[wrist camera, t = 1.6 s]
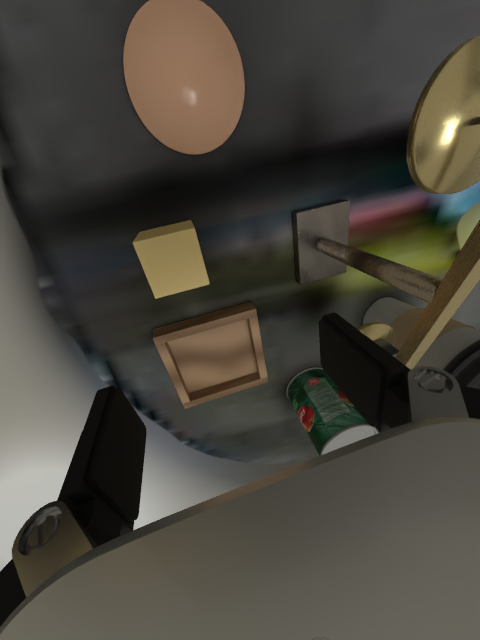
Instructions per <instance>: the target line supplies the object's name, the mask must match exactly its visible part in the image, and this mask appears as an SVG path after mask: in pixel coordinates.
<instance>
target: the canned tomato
mask: <svg viewBox="0 0 480 640" xmlns="http://www.w3.org/2000/svg"><path fill="white" fill-rule="evenodd" d="M286 395H287V397H288V399H289V400H290V402H291V404H292V406H293V408H294V410H295V411H296V413H297V415H298V417H299V419H300V421H301V423H302V424H303V426H304V428H305V430H306V432H307V434H308V435H309V438H310V439H311V441H312V443H313V444H314V446H315V449H316V450H317V452H318V454H319V455H323V454H326V453H328V452H331V451H333V450H336V449H338V448H341V447H344V446H346V445H349V444H351V443H354V442H356V441H359V440H362V439H364V438H367V437H370V436H373V435H375V434H378V432H377V430H376V429H375V428H374V427H372V426H371V425H369V424H368V422H367V421H366V420H365V419H364V418H363V416H362V415H361V414H360V413H359V412H358V410H357V409H356V408H355V407H354V406H353V404H352V403H351V402H350V401H349V400H348V398H347V397H346V396H345V395H344V394H343V392H342V391H341V390H340V389H339V388H338V387H337V385H336V384H335V383H334V382H333V381H332V379H331V378H330V377H329V376H328V375H327V373H326V372H325V371H324V370H323V368H320V367H312V368H308V369H305V370H303V371H301V372H299V373H298V374H297V375H295V376H294V377H293V378H292V379H291V381H290V382H289V384H288V386H287V390H286Z"/></svg>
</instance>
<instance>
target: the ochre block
mask: <svg viewBox="0 0 480 640" xmlns="http://www.w3.org/2000/svg"><path fill="white" fill-rule="evenodd" d="M133 245H134V248H135V250H136V252H137V255H138V257H139V260H140V262H141V265H142V267H143V269H144V272H145V274H146V277H147V279H148V282H149V284H150V286H151V289H152V291H153V294H154V296H155V299H156V298H160V297H164V296H167V295H171V294H175V293H179V292H182V291H186V290H190V289H194V288H197V287H201V286H205V285H208V284H210V283H209V279H208V276H207V272H206V268H205V264H204V261H203V257H202V253H201V250H200V246H199V242H198V238H197V235H196V231H195V228H194V226H193V224H192V222H191V220H188V221H184V222H179V223H175V224H171V225H167V226H163V227H158V228H154V229H150V230H146V231H141V232H139V234H138V235H137V237H136V238H135V240H134V241H133Z"/></svg>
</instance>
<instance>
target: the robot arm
mask: <svg viewBox="0 0 480 640" xmlns="http://www.w3.org/2000/svg"><path fill="white" fill-rule="evenodd" d="M319 337H320V358H321V366H322V368H323V370H324V371H325V372H326V373H327V375H328V376H329V377H330V378H331V379H332V381H333V382H334V383H335V384H336V385H337V387H338V388H339V389H340V390H341V391H342V392H343V394H344V395H345V396H346V397H347V398H348V400H349V401H350V402H351V403H352V404H353V406H354V407H355V408H356V409H357V410H358V412H359V413H360V414H361V415H362V416H363V418H364V419H365V420H366V421H367V422H368V424H369V425H371V426H372V427H374V426H375V427H376V428H377V429H378V430H379V432H380V433H378V434H375V435H373V436H370V437H367V438H364V439H362V440H359V441H356V442H354V443H351V444H349V445H346V446H344V447H341V448H338V449H336V450H333V451H331V452H328V453H326V454H323V455H320V456H318V457H315V458H313V459H310V460H308V461H305V462H302V463H300V464H297V465H295V466H292V467H290V468H287V469H285V470H282V471H280V472H277V473H275V474H272V475H270V476H267V477H265V478H262V479H260V480H257V481H255V482H252V483H249V484H247V485H244V486H242V487H239V488H237V489H234V490H232V491H230V492H227V493H224V494H222V495H220V496H217V497H215V498H212V499H209V500H207V501H204V502H202V503H199V504H197V505H194V506H192V507H189V508H187V509H184V510H182V511H179V512H177V513H174V514H172V515H170V516H167V517H164V518H162V519H160V520H157V521H155V522H152V523H150V524H148V525H145V526H143V527H141V528H138V529H136V530H133V525H134V520H136V519H137V518H138V514H139V504H140V494H141V484H142V474H143V463H144V453H145V443H146V427H145V425H144V423H143V422H142V420H141V419H140V417H139V416H138V415H137V413H136V411H135V410H134V408H133V407H132V405H131V404H130V402H129V401H128V399H127V398H126V396H125V395H124V393H123V392H122V391H121V389H120V388H119V387H117V388H115V387H114V386H109V387H106V388H103V389H100V390H98V391H97V393H96V396H95V398H94V401H93V404H92V407H91V410H90V413H89V415H88V418H87V421H86V424H85V426H84V429H83V431H82V433H81V436H80V439H79V441H78V444H77V447H76V450H75V453H74V455H73V458H72V461H71V464H70V467H69V469H68V472H67V475H66V478H65V480H64V483H63V486H62V489H61V492H60V494H59V497H58V500H57V501H54V502H51V503H48V504H46V505H45V506H43V507H42V508H40V509H39V510H38V511H36V512H35V513H34V514H33V515H32V516H31V517H30V518H29V519H28V520H27V521H26V522H25V524H24V525H23V527H22V528H21V530H20V531H19V533H18V535H17V537H16V539H15V541H14V544H13V548H12V558H13V559H12V560H11V561H10V562H9V563H8V564H7V565H6V566H5V567H4V568H3V569H2V570H1V572H0V640H480V389H476V388H471V387H466V386H461V385H459V383H458V382H457V380H456V379H455V378H454V377H453V376H452V375H451V374H449V373H448V372H446V371H444V370H441V369H439V368H435V367H431V366H419V367H415V368H413V369H409V368H408V367H407V366H405V365H404V364H403V363H401V362H400V361H399V360H397V359H396V358H395V357H393V356H392V355H391V354H390V353H388V352H387V351H386V350H384V349H383V348H382V347H380V346H379V345H378V344H376V343H375V342H374V341H372V340H371V339H370V338H369V337H367V336H366V335H364V334H363V333H361V332H360V331H359V330H357V329H356V328H355V327H354V326H352V325H351V324H350V323H348V322H347V321H346V320H344V319H343V318H342V317H340V316H339V315H338V314H336V313H331V314H328V315H325V316H323V317H322V319H321V320H320V321H319Z"/></svg>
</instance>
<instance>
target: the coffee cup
mask: <svg viewBox="0 0 480 640" xmlns="http://www.w3.org/2000/svg"><path fill="white" fill-rule="evenodd" d="M424 310H425V309H424V308H418V307H415V306H412V305H410V304H407V303H404V302H402V301H399V300H396V299H394V298H390V297H384V298H381V299H379V300H377V301H376V302H375V303H373V304H372V305H371V306H370V308H369V309H368V310H367V312H366V314H365V316H364V318H363V325H364V324H367V323H370V322H383V323H385V324H387V325H389V326H390V327H392V328H393V329H394V331H395V333H396V344H395V348H396V349H398V350H399V351H400V349H401V347H402V346H403V344H404V342H405V341H406V339H407V337H408V336H409V334H410V333H411V331H412V329H413V328H414V326H415V324H416V323H417V321H418V319H419V318H420V316H421V315H422V313H423V311H424ZM419 366H431V367H435V368H439V369H441V370H444V371H446V372H448V373H449V374H451V375H452V376H453V377H454V378H455V379H456V380H457V382H458V383H459V385H461V386H466V387H471V388H476V389H480V331H478V330H476V329H475V328H474V327H471V326H469V325H466V324H464V323H461V322H458V321H456V320H453V319H450V320H449V321H448V322H447V324H446V325H445V326H444V328H443V329H442V330H441V332H440V333H439V334H438V336H437V337H436V338H435V340H434V341H433V342H432V344H431V345H430V346H429V348H428V349H427V350H426V352H425V353H424V354H423V356H422V357H421V358H420V360H419V361H418V363H417V364H416V365H415V367H419ZM415 367H414V368H415Z"/></svg>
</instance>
